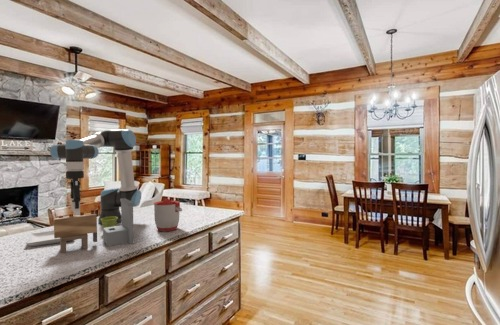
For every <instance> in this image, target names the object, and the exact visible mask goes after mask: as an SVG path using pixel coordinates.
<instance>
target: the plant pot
mask: <svg viewBox="0 0 500 325" xmlns="http://www.w3.org/2000/svg"><path fill="white" fill-rule="evenodd" d="M117 219H118V217H104V218H101V221H102V224H101V225H102V229H103V228H106V227H113V226H117V223H116V221H117Z"/></svg>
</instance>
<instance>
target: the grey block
mask: <svg viewBox="0 0 500 325" xmlns="http://www.w3.org/2000/svg"><path fill="white" fill-rule="evenodd" d="M120 202H121V207H120V210H121V211H120V213H121V222H120V223H121V225H116V226H113V227H106V228H103V227H102V237H103V238H102V240H103V242H104V243H105V246H106V247H111V246H118V245H122V244H129V245H131V244H134V242H135V240H134V236H135V234H134V233H135V232H134V207H133V206H134V202H131V201H129V200H127V199H125V198H124V199H120Z"/></svg>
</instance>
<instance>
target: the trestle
mask: <svg viewBox="0 0 500 325" xmlns="http://www.w3.org/2000/svg"><path fill="white" fill-rule="evenodd" d="M88 234H89V233H88ZM88 234H81V235H75V236H68V237H61V238H60V253H61V254H63V253H67V242H69V241H74V240H81V244H80V245H81V247H82V249H83V250H88V248H89V244H88V243H89V241H88V240H89V239H88Z"/></svg>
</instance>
